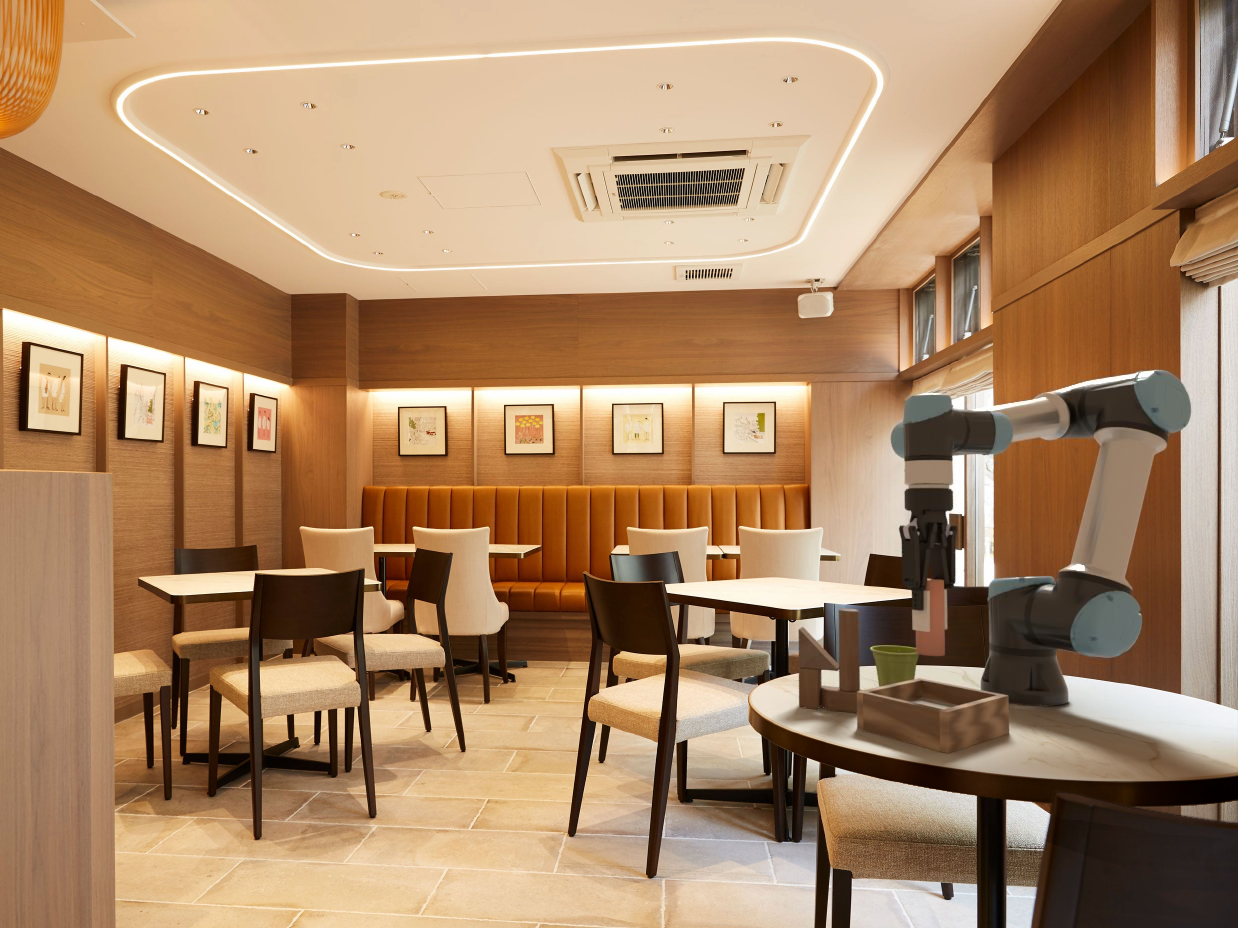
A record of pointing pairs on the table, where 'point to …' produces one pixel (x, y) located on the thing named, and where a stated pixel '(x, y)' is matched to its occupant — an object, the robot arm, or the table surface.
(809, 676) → the brown wooden stacked blocks
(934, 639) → the peg
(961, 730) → the box
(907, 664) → the plant pot
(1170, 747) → the table surface
